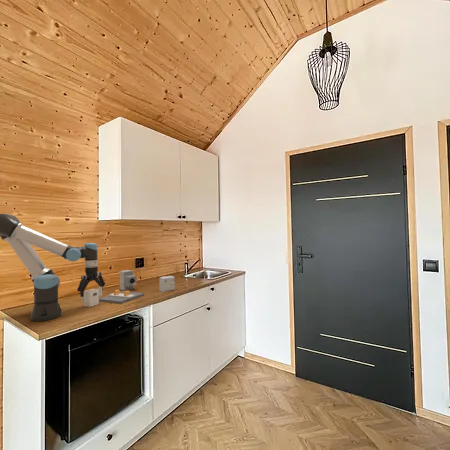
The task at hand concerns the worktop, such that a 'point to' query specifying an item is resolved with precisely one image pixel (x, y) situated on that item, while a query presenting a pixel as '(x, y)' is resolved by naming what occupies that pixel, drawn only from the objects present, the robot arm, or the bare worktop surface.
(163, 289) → the light bulb box
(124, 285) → the circuit breaker
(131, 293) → the din rail board
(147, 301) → the worktop surface
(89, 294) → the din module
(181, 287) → the worktop surface
